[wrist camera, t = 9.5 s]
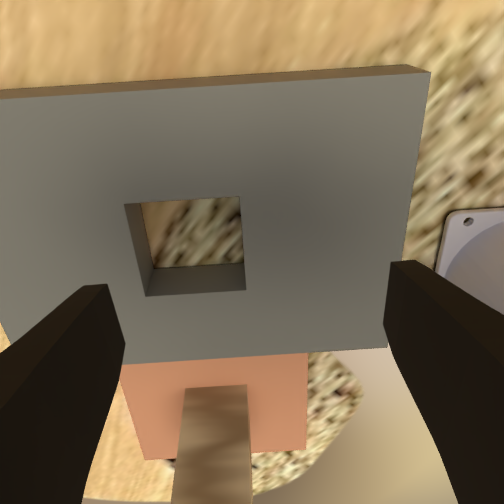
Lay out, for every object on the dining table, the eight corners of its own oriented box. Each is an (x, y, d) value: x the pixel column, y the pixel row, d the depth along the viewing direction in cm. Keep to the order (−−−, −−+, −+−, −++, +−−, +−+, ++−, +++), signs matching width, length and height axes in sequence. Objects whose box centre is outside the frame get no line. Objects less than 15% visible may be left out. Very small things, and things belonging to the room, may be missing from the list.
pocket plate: (407, 64, 17) (431, 72, 15) (373, 317, 25) (387, 347, 22) (-63, 93, 17) (-104, 105, 15) (42, 339, 25) (23, 371, 22)
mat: (307, 346, 26) (308, 351, 25) (305, 444, 31) (305, 449, 30) (116, 359, 26) (114, 363, 25) (146, 455, 31) (145, 460, 30)
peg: (246, 384, 27) (251, 514, 20) (250, 423, 29) (254, 554, 22) (185, 388, 27) (168, 520, 20) (193, 427, 29) (179, 559, 22)
